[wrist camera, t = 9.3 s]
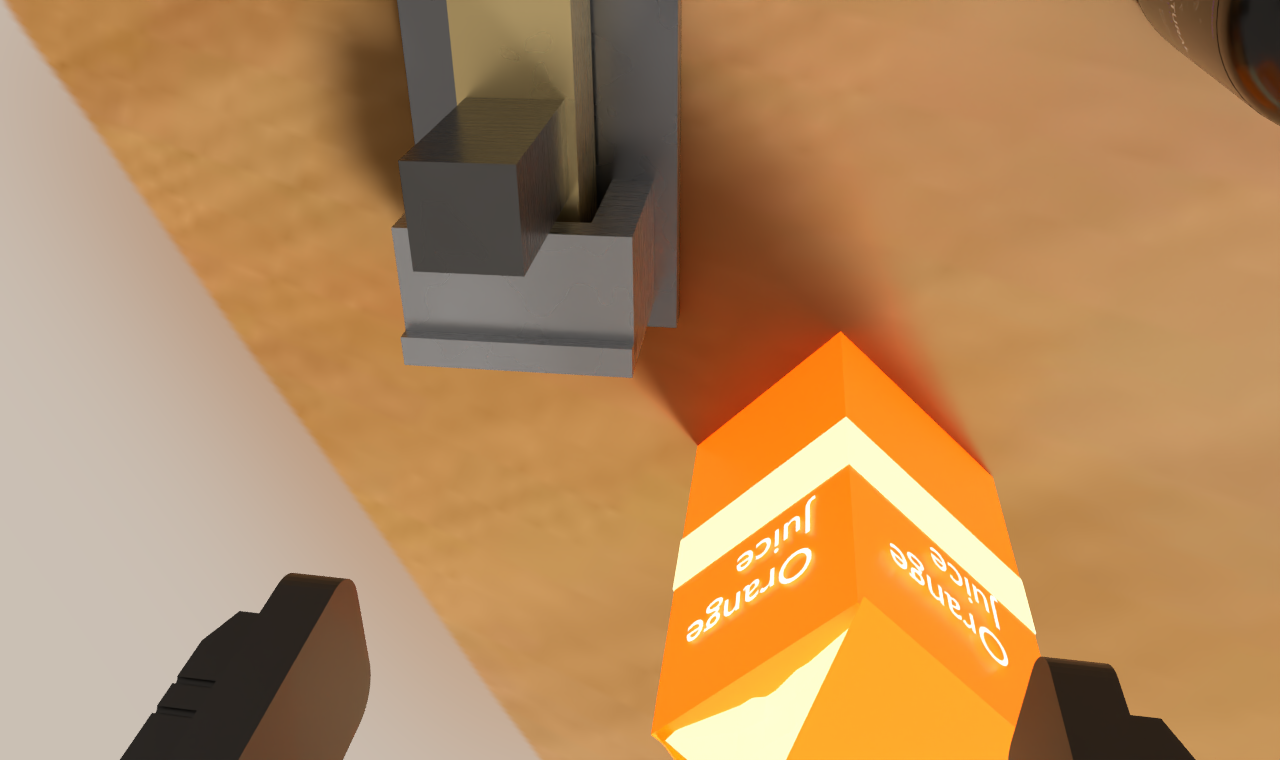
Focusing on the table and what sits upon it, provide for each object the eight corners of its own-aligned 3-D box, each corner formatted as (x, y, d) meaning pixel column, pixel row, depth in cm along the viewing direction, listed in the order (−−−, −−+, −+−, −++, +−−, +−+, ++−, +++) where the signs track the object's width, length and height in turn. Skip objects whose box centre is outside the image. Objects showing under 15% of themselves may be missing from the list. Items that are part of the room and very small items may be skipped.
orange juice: (843, 577, 44) (868, 1096, 26) (693, 446, 41) (614, 920, 24) (998, 475, 40) (1142, 997, 23) (843, 326, 38) (874, 781, 21)
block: (452, -275, 29) (323, -294, 21) (580, -277, 28) (495, -298, 21) (499, 258, 37) (417, 385, 29) (599, 262, 36) (543, 393, 29)
